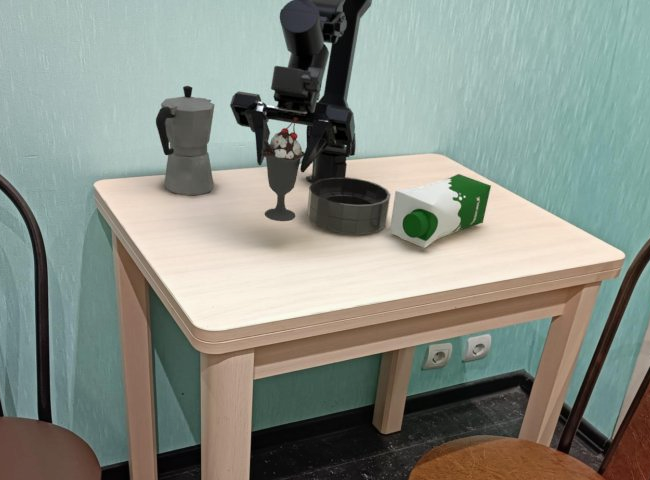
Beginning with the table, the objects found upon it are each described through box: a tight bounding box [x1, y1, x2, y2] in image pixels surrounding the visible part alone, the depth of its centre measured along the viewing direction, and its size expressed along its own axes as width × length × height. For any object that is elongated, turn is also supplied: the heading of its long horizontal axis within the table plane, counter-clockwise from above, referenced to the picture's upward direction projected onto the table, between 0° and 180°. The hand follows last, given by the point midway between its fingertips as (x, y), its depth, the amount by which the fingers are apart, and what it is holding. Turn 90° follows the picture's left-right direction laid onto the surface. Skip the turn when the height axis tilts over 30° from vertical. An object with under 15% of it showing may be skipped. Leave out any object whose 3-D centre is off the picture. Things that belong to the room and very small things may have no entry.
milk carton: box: [389, 173, 492, 249], centre depth 131 cm, size 9×9×20 cm
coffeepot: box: [155, 85, 215, 196], centre depth 136 cm, size 15×9×18 cm, turn 153°
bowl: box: [306, 176, 391, 235], centre depth 133 cm, size 14×14×6 cm
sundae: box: [262, 117, 305, 222], centre depth 116 cm, size 7×7×15 cm
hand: (280, 167), depth 115 cm, fingers closed on sundae, 6 cm apart
